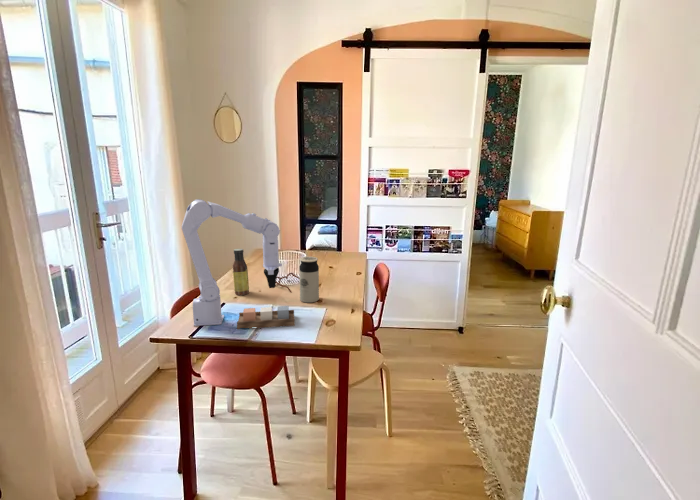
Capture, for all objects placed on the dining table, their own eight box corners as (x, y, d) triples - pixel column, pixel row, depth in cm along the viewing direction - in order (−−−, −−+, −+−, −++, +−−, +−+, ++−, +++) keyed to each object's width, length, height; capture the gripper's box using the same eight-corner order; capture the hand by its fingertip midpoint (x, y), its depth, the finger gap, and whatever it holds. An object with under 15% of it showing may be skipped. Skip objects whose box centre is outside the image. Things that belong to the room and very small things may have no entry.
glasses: (292, 281, 192) (292, 271, 191) (311, 286, 184) (311, 276, 183) (272, 287, 182) (271, 277, 181) (291, 294, 174) (291, 283, 173)
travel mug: (310, 295, 171) (310, 255, 167) (322, 299, 166) (322, 258, 162) (296, 299, 166) (295, 258, 162) (307, 304, 161) (307, 262, 156)
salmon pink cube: (243, 321, 139) (243, 312, 139) (244, 317, 143) (244, 308, 142) (255, 321, 140) (254, 312, 139) (255, 316, 144) (255, 307, 143)
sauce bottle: (251, 293, 173) (249, 249, 168) (239, 296, 168) (236, 252, 164) (243, 290, 177) (241, 247, 172) (231, 293, 173) (228, 249, 168)
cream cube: (260, 320, 140) (260, 311, 140) (261, 316, 144) (260, 307, 143) (272, 320, 141) (271, 311, 140) (272, 315, 145) (272, 307, 144)
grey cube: (277, 319, 141) (277, 310, 141) (277, 315, 145) (277, 306, 144) (288, 319, 142) (288, 310, 141) (288, 314, 146) (288, 305, 145)
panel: (237, 329, 137) (236, 322, 136) (239, 318, 146) (239, 312, 145) (294, 325, 140) (294, 319, 140) (294, 315, 149) (293, 309, 148)
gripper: (281, 257, 141) (282, 293, 144) (281, 248, 155) (282, 281, 158) (261, 258, 140) (263, 294, 143) (263, 248, 154) (264, 281, 157)
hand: (272, 287), depth 151 cm, fingers closed
